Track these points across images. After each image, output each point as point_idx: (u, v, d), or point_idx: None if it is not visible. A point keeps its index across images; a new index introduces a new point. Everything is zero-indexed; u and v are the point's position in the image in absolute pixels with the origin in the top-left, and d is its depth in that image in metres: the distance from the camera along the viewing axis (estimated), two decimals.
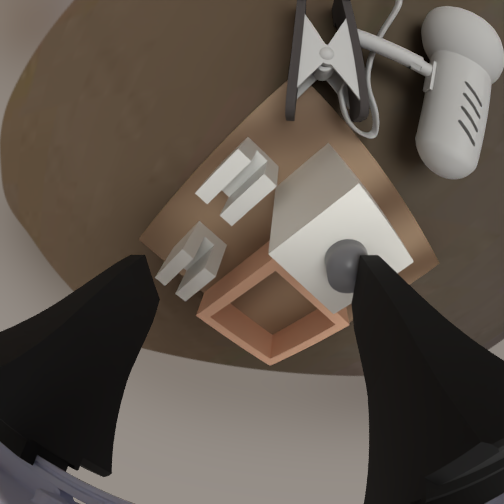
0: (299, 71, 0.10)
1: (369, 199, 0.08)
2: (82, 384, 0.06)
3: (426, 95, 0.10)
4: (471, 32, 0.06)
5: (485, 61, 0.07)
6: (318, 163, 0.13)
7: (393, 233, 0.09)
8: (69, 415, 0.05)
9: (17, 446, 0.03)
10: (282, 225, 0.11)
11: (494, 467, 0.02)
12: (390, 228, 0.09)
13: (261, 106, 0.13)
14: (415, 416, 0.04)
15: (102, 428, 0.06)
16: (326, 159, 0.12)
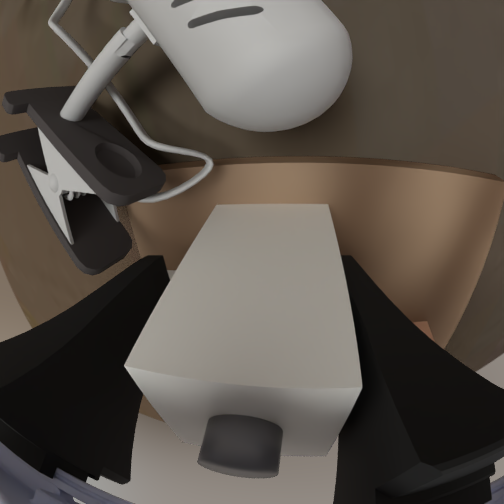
0: (60, 227, 0.08)
1: (157, 374, 0.04)
2: (102, 391, 0.05)
3: None
4: None
5: None
6: None
7: (255, 387, 0.04)
8: (90, 424, 0.05)
9: (17, 446, 0.03)
10: None
11: (459, 483, 0.02)
12: (238, 385, 0.04)
13: (136, 236, 0.11)
14: (370, 423, 0.04)
15: (122, 435, 0.06)
16: None
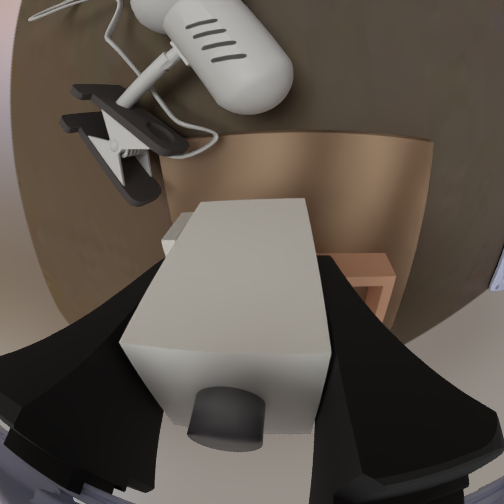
0: (115, 175, 0.13)
1: (148, 347, 0.05)
2: (130, 398, 0.05)
3: None
4: None
5: None
6: None
7: (234, 354, 0.05)
8: (117, 434, 0.05)
9: (17, 446, 0.03)
10: None
11: (426, 494, 0.02)
12: (220, 353, 0.05)
13: (166, 187, 0.16)
14: (332, 426, 0.04)
15: (147, 442, 0.06)
16: None
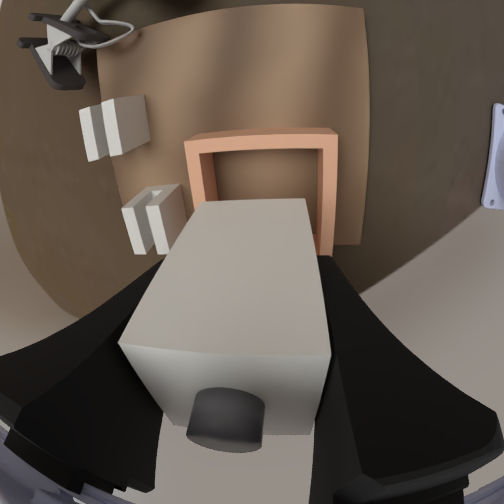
0: (46, 68, 0.10)
1: (147, 348, 0.05)
2: (130, 398, 0.05)
3: None
4: None
5: None
6: None
7: (234, 355, 0.05)
8: (117, 434, 0.05)
9: (17, 446, 0.03)
10: None
11: (426, 494, 0.02)
12: (219, 354, 0.05)
13: (100, 81, 0.13)
14: (332, 426, 0.04)
15: (147, 443, 0.06)
16: None
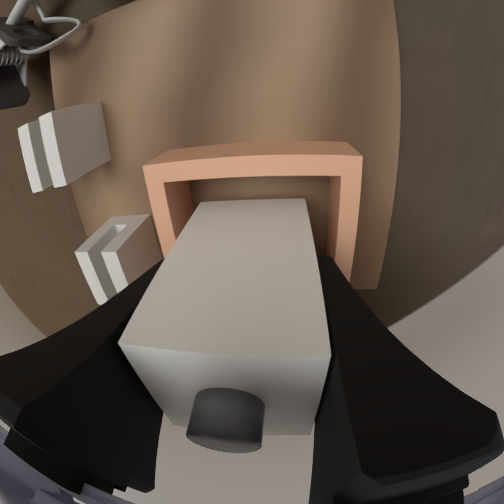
0: None
1: (147, 348, 0.05)
2: (130, 398, 0.05)
3: None
4: None
5: None
6: None
7: (233, 356, 0.05)
8: (117, 434, 0.05)
9: (17, 446, 0.03)
10: None
11: (426, 494, 0.02)
12: (219, 355, 0.05)
13: (53, 86, 0.09)
14: (332, 426, 0.04)
15: (148, 443, 0.06)
16: None
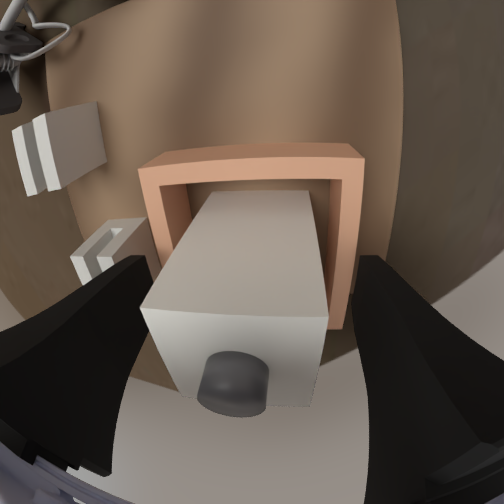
0: None
1: (167, 311, 0.06)
2: (82, 384, 0.06)
3: None
4: None
5: None
6: None
7: (244, 317, 0.06)
8: (69, 415, 0.05)
9: (17, 446, 0.03)
10: None
11: (494, 467, 0.02)
12: (231, 316, 0.06)
13: (49, 87, 0.09)
14: (415, 416, 0.04)
15: (103, 428, 0.06)
16: None
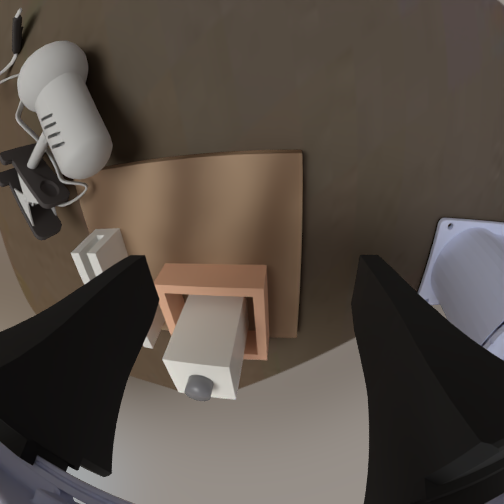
0: (28, 218, 0.15)
1: (173, 361, 0.15)
2: (82, 384, 0.06)
3: None
4: (20, 94, 0.10)
5: (34, 90, 0.10)
6: None
7: (200, 364, 0.15)
8: (69, 415, 0.05)
9: (17, 446, 0.03)
10: None
11: (494, 467, 0.02)
12: (195, 364, 0.15)
13: (82, 209, 0.18)
14: (415, 416, 0.04)
15: (103, 428, 0.06)
16: None
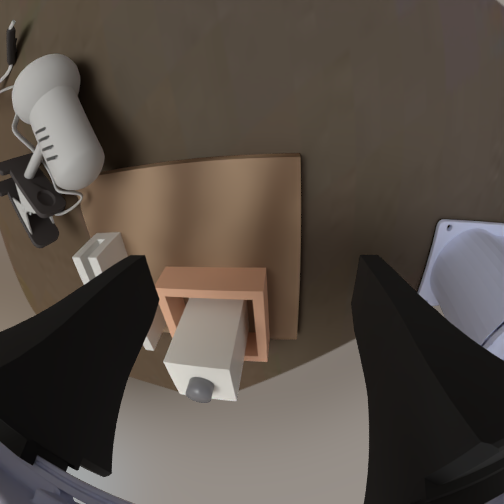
0: (26, 227, 0.16)
1: (173, 363, 0.15)
2: (82, 384, 0.06)
3: None
4: (15, 107, 0.10)
5: (28, 103, 0.10)
6: None
7: (200, 367, 0.15)
8: (69, 415, 0.05)
9: (17, 446, 0.03)
10: None
11: (494, 467, 0.02)
12: (196, 366, 0.15)
13: (83, 213, 0.18)
14: (415, 416, 0.04)
15: (102, 428, 0.06)
16: None
